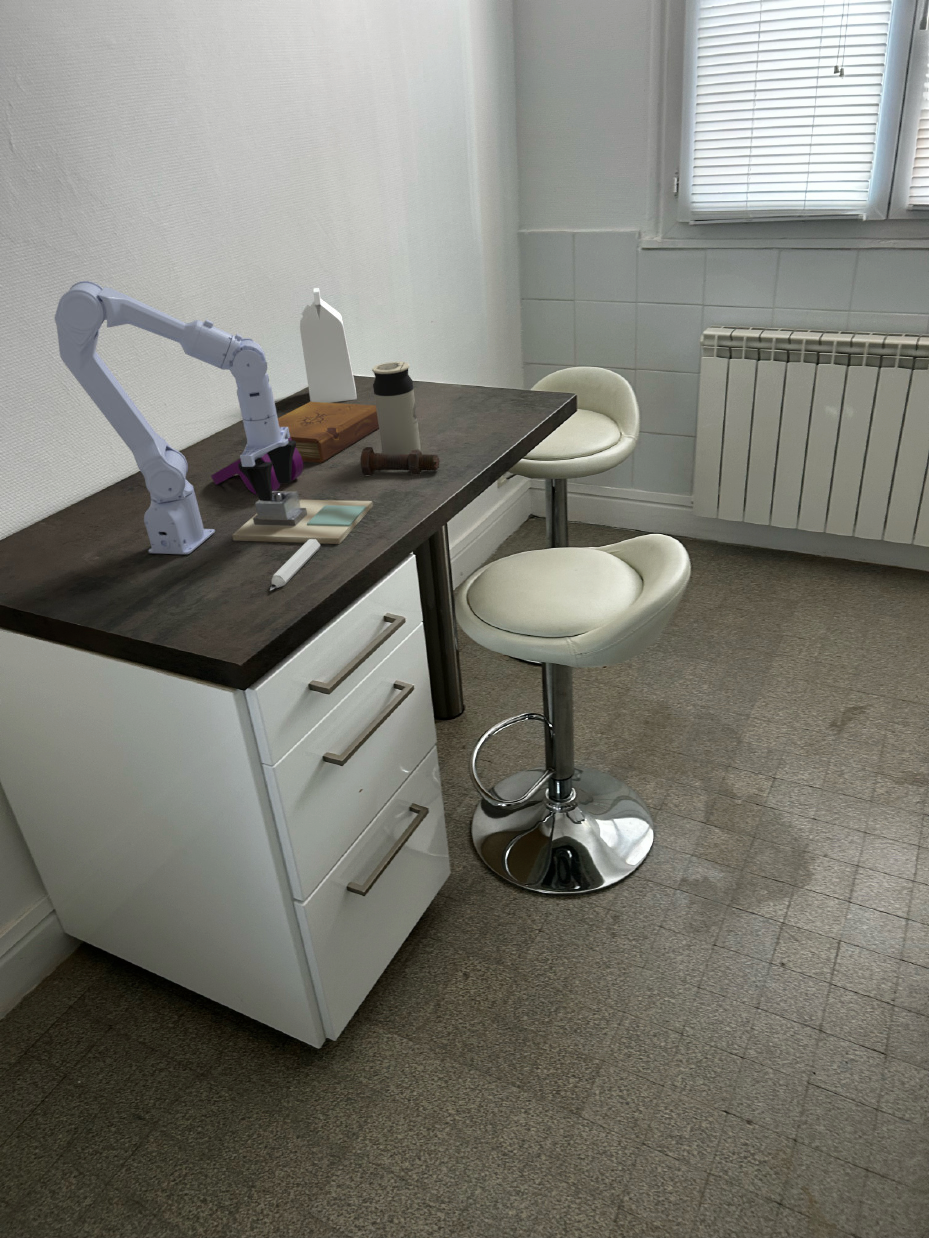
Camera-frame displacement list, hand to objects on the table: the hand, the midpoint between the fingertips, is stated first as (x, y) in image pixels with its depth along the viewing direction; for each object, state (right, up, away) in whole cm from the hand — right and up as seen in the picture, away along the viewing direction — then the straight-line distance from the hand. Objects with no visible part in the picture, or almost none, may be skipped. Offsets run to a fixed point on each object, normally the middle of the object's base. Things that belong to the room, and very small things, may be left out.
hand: (275, 491), depth 160 cm
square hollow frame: (0, -4, +2) cm, 4 cm away
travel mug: (+20, +12, +31) cm, 39 cm away
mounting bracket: (-9, +4, +23) cm, 25 cm away
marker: (+6, -15, -14) cm, 21 cm away
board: (+5, -5, +3) cm, 7 cm away
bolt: (+21, +6, +21) cm, 30 cm away
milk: (-1, +35, +75) cm, 82 cm away
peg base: (+1, -6, +3) cm, 6 cm away
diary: (+1, +16, +43) cm, 46 cm away
